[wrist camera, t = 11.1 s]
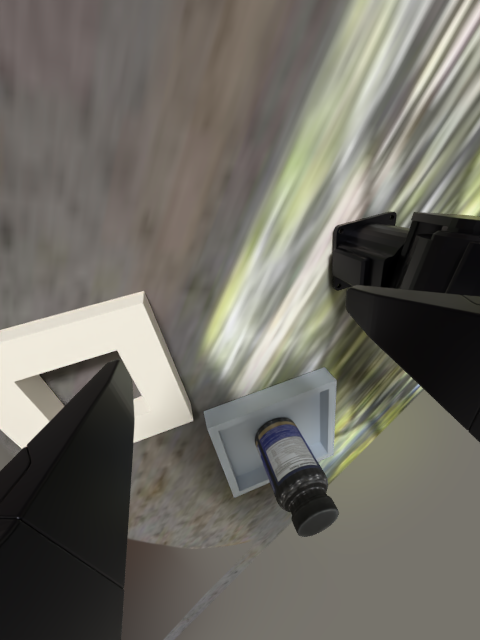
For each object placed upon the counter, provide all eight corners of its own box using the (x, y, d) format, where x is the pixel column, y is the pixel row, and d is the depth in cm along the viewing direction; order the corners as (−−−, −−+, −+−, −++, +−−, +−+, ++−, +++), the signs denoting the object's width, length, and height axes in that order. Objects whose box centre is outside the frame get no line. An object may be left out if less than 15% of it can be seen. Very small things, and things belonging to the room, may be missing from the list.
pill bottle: (286, 444, 36) (331, 533, 27) (248, 449, 34) (282, 547, 25) (300, 413, 34) (354, 500, 25) (260, 416, 32) (303, 512, 22)
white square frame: (144, 290, 21) (142, 302, 18) (190, 402, 28) (193, 420, 26) (-47, 342, 18) (-73, 363, 16) (58, 450, 26) (49, 473, 23)
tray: (324, 367, 32) (336, 380, 29) (324, 440, 40) (333, 454, 38) (203, 411, 29) (207, 429, 27) (229, 480, 37) (234, 497, 35)
